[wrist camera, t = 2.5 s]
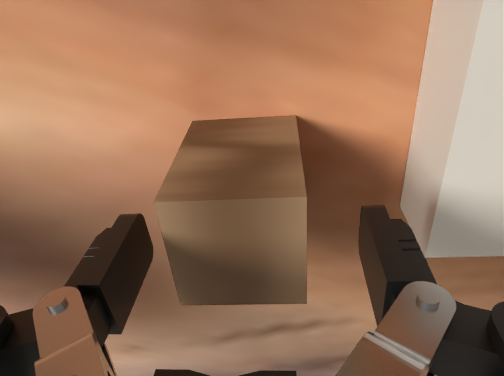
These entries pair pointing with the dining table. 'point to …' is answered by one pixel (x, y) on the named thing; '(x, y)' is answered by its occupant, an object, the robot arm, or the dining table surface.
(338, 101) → the dining table surface
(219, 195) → the walnut block
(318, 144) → the dining table surface
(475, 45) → the white block
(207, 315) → the dining table surface
